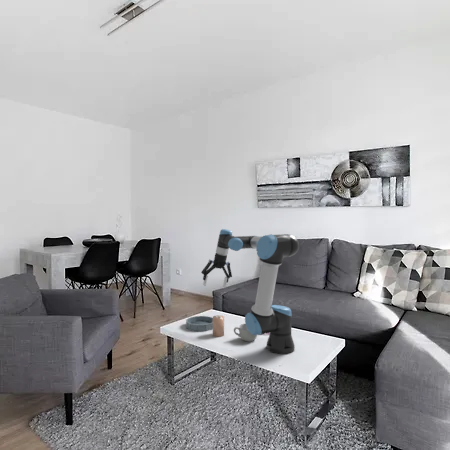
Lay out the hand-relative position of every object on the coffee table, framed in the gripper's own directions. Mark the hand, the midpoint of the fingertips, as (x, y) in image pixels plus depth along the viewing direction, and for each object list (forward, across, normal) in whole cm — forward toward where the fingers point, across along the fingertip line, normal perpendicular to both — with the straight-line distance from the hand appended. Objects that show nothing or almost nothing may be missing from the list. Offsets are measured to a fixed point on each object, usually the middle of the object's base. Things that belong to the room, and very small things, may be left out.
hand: (214, 286), depth 216 cm
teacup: (+22, -16, +26) cm, 38 cm away
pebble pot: (+26, -4, +13) cm, 29 cm away
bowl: (+30, +1, -6) cm, 31 cm away
